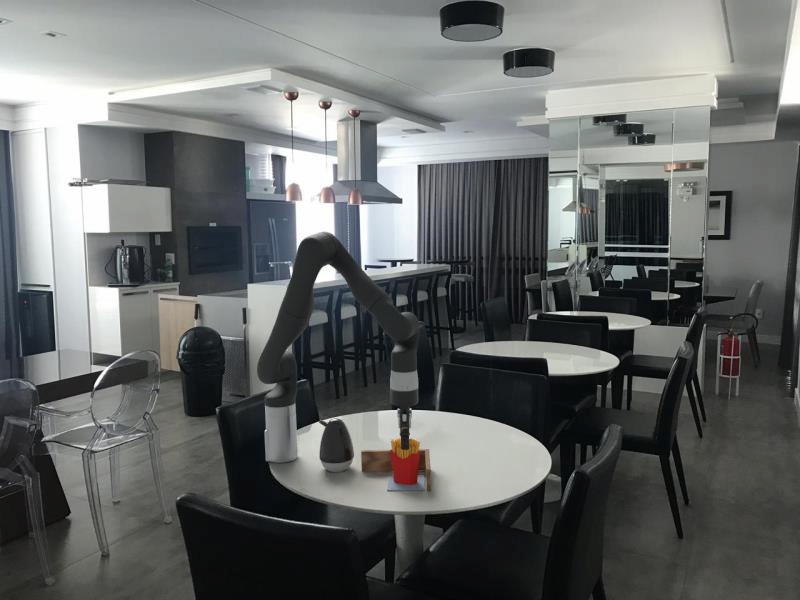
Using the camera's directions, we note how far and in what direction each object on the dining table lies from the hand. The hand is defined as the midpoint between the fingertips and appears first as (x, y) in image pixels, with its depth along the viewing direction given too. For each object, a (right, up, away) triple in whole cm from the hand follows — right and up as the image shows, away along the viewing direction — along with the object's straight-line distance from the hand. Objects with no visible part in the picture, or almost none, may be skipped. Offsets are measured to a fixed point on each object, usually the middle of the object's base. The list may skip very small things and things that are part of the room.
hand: (405, 444), depth 181 cm
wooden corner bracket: (-3, -11, +3) cm, 12 cm away
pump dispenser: (-20, -10, +13) cm, 26 cm away
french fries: (0, -11, +1) cm, 11 cm away
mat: (0, -11, +1) cm, 11 cm away
